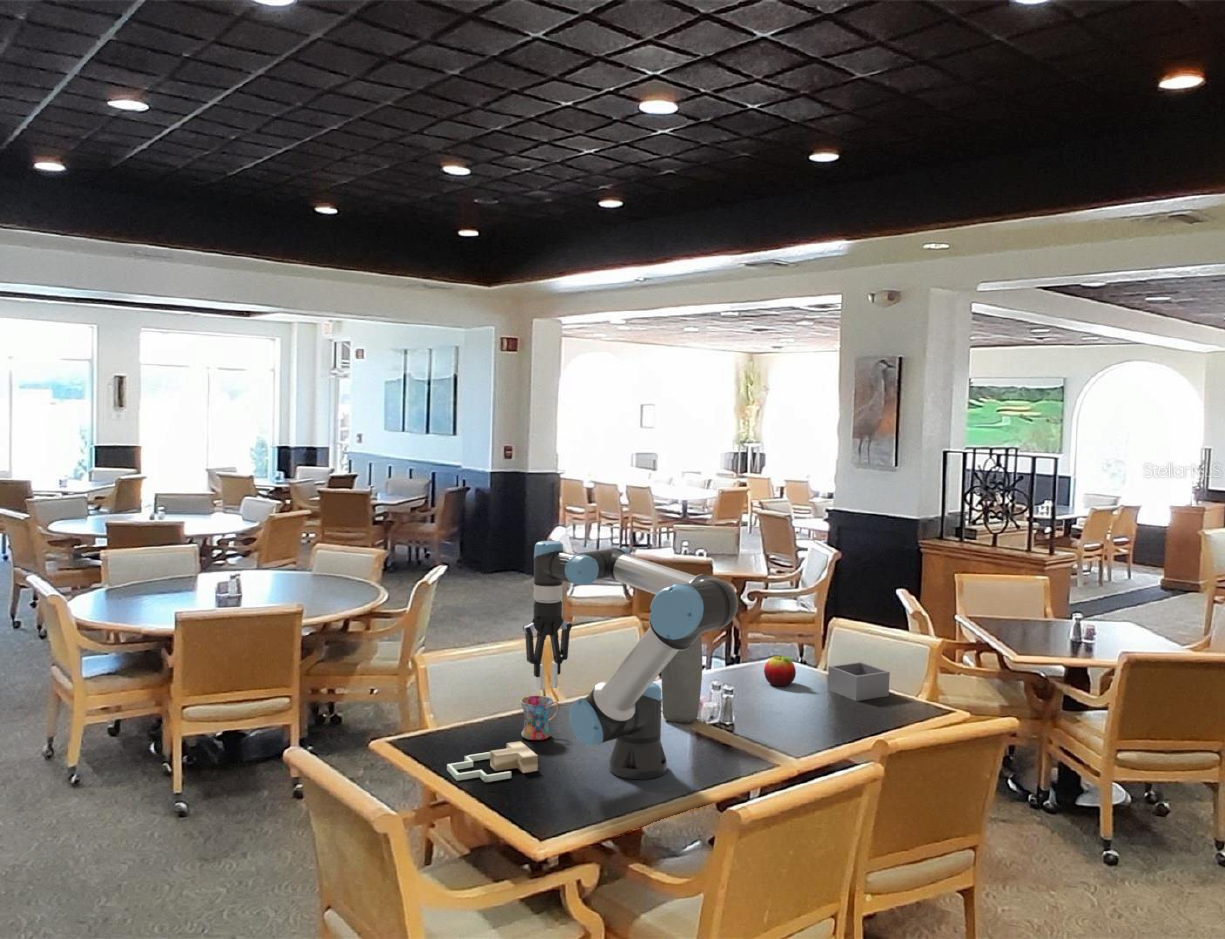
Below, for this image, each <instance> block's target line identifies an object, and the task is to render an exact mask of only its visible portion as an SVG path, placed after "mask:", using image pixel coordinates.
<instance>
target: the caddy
mask: <svg viewBox="0 0 1225 939" xmlns="http://www.w3.org/2000/svg"><path fill="white" fill-rule="evenodd" d="M827 667H828V670H827V671H828V673H827V690H828V691H830V692H833V693H835V694H837V695H840V696H843V697H845V698H847V699H849V700H853V701H854V702H858V701H859V702H860V701H864V700H866V701H867V700H871V699H877V698H884V697H889V696H890V676H891V675H890V673H891V672H890V671H888V670H886V669H882V668H880V667H877V666H873V665H870V664H868V663H865V662H862V661H858V662H850V663H843V664H834V665H828V666H827Z"/></svg>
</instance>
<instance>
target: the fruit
mask: <svg viewBox="0 0 1225 939" xmlns="http://www.w3.org/2000/svg"><path fill="white" fill-rule="evenodd" d="M793 661H794V660H793V658H791V657H789V656H783V655H781V654H780V655H779V656H777V655H776V656H772V657H771V658H769V659H768V661H767V662H765V666H764V669H763V673H764V677H765V680H766V681H767V682H768V683H769V684H770V685H771V686H775V687H787V686H790V685H791V684H792V683H793V682H794V680H795V679H796V674H797V671H796V666H795V665H794V662H793Z"/></svg>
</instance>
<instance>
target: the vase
mask: <svg viewBox="0 0 1225 939" xmlns="http://www.w3.org/2000/svg"><path fill="white" fill-rule="evenodd" d="M702 640H703V639H702V634H701V635H700V636H699V637H698V638H697V639H696V641H695V642H694V643H693V644H692V645H691V647H690V648H689V649H687V650H683V651H678V652H677V653H676V654H675V656H674V657H673V658H672V659H671V660H670V662H669V663H668V664H667V665H666V666H665V668H664V669H663V670H662V671H661V673H660V674H661V676H660V677H661V699H662V705H661V713H662V716H663V719H664V720H666V721H668V722H673V723H682V724H683V723H686V724H687V723H692V722H693V721H695V720H696V719H697V718H698V717H699V716H698V715H699V709H700V702H701V693H702V683H703V682H702V680H703V643H702Z"/></svg>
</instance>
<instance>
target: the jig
mask: <svg viewBox="0 0 1225 939" xmlns="http://www.w3.org/2000/svg"><path fill="white" fill-rule="evenodd" d="M463 758H464V760H463V761H460V762H455V763H454V762H452V763H447V764H446V771H447V772H448V773H449V774H450V775H451V776H452V778H454V779H455V781H463V780H469V779H470V780H471V779H474V778H480V779H481V780H482V781H483V782H484V783H491V782H494V781H495V782H497V781H502V780H507V779H512V771H509V770H508V771H504V772H503V771H502V772H497V773H491V774H487V773H486V772H485V771H483V769H477V770H472V771H465V772H458V770H463V769H470V768H474V762H477V761H482V760H490V751H487V752H482V753H481V752H480V753H475V754H474V753H473V754H469V755H464V756H463Z"/></svg>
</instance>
